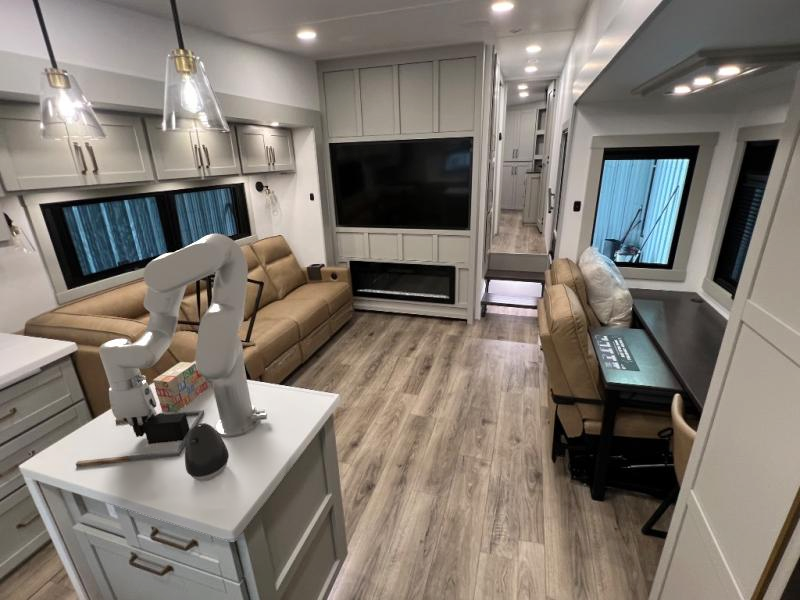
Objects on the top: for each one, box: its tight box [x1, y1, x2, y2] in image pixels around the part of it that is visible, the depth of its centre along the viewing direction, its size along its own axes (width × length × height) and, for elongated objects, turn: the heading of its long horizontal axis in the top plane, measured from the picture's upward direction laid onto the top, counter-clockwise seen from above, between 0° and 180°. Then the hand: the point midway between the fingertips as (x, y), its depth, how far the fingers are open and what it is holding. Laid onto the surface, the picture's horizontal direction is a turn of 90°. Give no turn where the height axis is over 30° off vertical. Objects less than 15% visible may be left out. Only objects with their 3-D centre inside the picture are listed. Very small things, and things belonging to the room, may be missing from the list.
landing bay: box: [130, 409, 206, 462], centre depth 116 cm, size 13×20×1 cm, turn 7°
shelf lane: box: [75, 414, 157, 468], centre depth 115 cm, size 14×20×1 cm
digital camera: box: [143, 412, 191, 445], centre depth 115 cm, size 10×5×7 cm, turn 97°
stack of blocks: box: [153, 359, 213, 413], centre depth 136 cm, size 21×6×12 cm, turn 167°
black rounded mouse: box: [184, 422, 230, 482], centre depth 99 cm, size 10×10×15 cm
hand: (141, 433), depth 115 cm, fingers closed
